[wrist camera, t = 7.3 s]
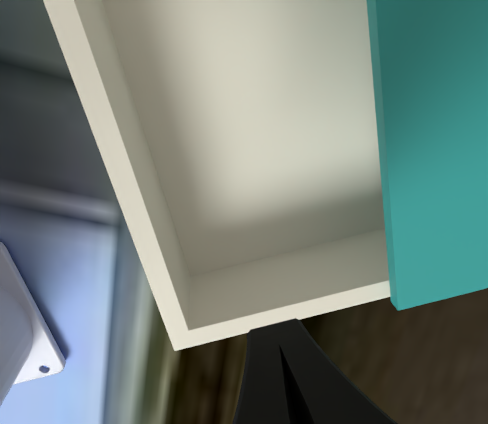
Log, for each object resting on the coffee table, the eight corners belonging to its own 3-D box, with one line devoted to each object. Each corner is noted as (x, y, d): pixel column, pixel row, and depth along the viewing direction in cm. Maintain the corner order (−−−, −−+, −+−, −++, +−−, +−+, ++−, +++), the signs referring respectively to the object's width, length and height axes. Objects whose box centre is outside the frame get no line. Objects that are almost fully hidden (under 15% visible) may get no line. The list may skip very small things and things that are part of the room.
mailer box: (179, 287, 20) (174, 350, 15) (31, -153, 13) (-55, -261, 9) (439, 222, 20) (506, 267, 16) (431, -244, 13) (545, -393, 9)
